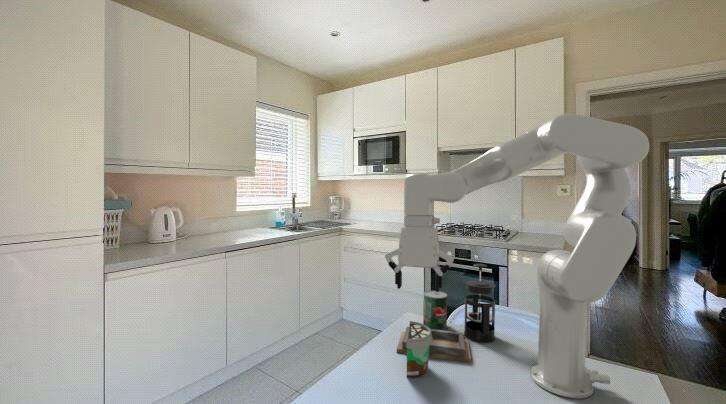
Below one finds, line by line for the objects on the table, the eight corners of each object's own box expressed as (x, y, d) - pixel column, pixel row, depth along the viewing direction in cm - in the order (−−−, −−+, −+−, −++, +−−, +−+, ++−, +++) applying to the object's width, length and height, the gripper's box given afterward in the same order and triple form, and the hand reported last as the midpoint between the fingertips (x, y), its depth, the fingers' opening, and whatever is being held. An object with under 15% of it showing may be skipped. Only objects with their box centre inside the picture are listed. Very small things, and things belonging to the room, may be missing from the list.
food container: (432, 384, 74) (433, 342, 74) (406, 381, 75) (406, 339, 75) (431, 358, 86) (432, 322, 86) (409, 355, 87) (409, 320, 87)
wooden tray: (467, 342, 96) (467, 332, 95) (471, 362, 84) (471, 351, 84) (402, 334, 100) (402, 325, 100) (396, 352, 89) (396, 341, 89)
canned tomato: (442, 332, 102) (443, 299, 102) (419, 327, 106) (420, 294, 106) (449, 324, 109) (450, 293, 109) (427, 319, 113) (428, 289, 113)
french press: (459, 328, 105) (460, 260, 105) (488, 329, 105) (489, 261, 105) (470, 345, 94) (471, 268, 93) (502, 346, 93) (503, 269, 93)
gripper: (453, 222, 81) (453, 287, 82) (388, 220, 86) (387, 282, 86) (454, 224, 74) (453, 296, 74) (382, 222, 79) (382, 290, 79)
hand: (418, 288), depth 80 cm, fingers open, 9 cm apart
